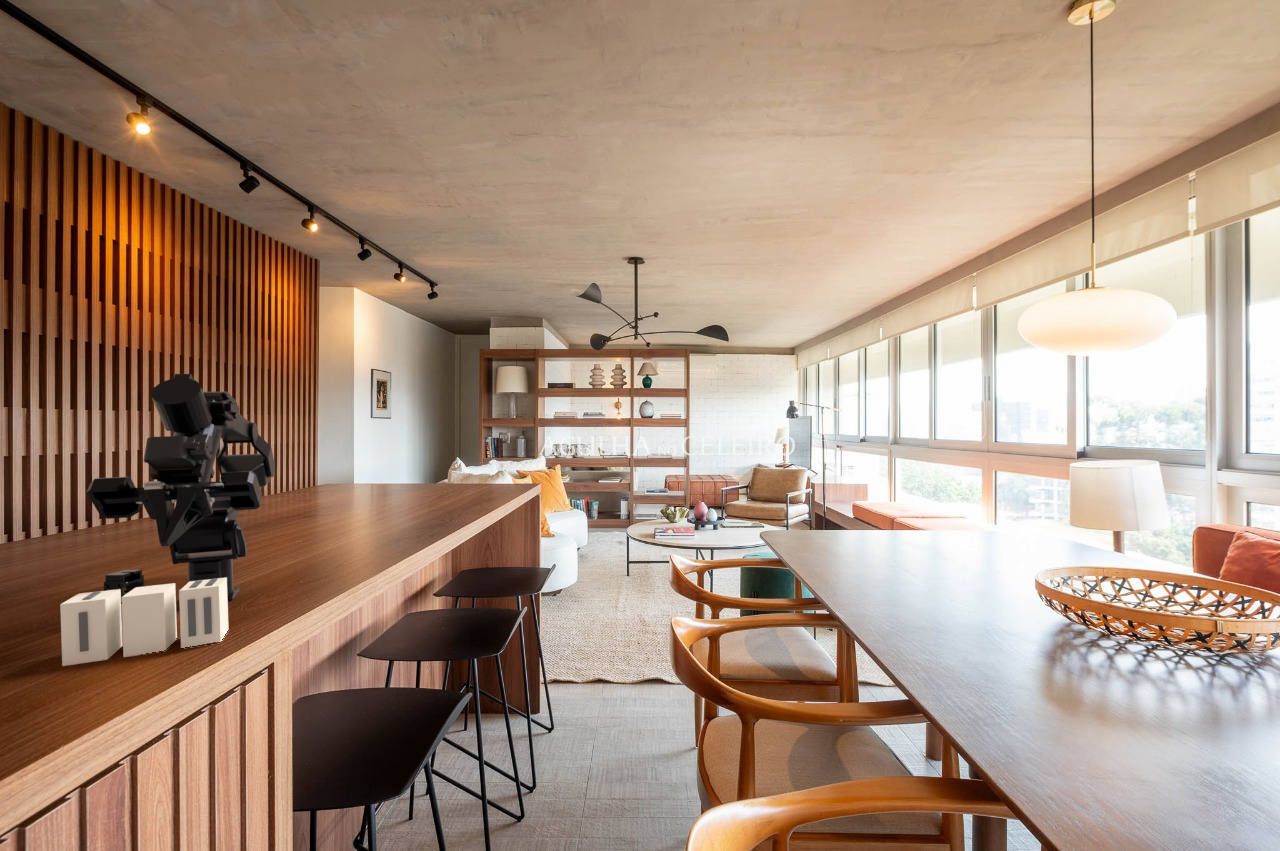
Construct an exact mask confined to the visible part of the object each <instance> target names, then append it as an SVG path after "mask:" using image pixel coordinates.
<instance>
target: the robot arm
mask: <svg viewBox="0 0 1280 851" xmlns="http://www.w3.org/2000/svg"><path fill="white" fill-rule="evenodd" d="M150 397H151V399H152V401H153V403H154V406H155V408H156V410H157V413H158V415H159V417H160V420H161V422H162V424H163V426H164V429H165V431H167V432H172V433H173V436H172V435H171V436H169V435H167V436H165V435H163V436H150V437H147V438H146V443H145V448H144V449H145V450H144V456H143V462H144V463H145V464H147V465H149V466H150V467H151V469H150V471H149V475H150V478H151V479H152V481H144V482H143V486H144V487H136V485H135V483H134V482H133V479H132V478H131V476H116V477H99V478H98V477H97V478H94V479H93V480H92V481H91V482H90V484H89V486H88V489H87V490H86V492H85V493H86V494H87V496H88V498H89V499H90V501H91V502H92V504H93V505H94V507H95V509H96V511H97V513H98V515H100V517H101V518H104V519H107V520H108V519H125V518H132V517H133V516H135V515H136V514H138V513H140V510H141V508H142V505H143V507H144V509H145V511H146V513H147V514H148V517H149V518H150V519H151V520H155V522H156V529H157V533H158V534H157V536H158V541H159V544H160V546H161V547H162V548H163V547H169V550H170V555H171V559H172V560H171V562H172V565H179V564H187V578H188V580H187V581H188V582H190V581H199V580H208V579H217V578H226V577H227V598H228V601H232V600H234V598H236V596H237V594H238V593H239V592H240V587H234V571H233V570H234V569H233V568H234V567H233V564H234V563H233V560H238V559H239V558H244V557H247V555H248V554H247V553H248V552H247V542H246V539H245V534H244V531H243V528H242V527H241V525H240V522H239V520H238V519H237V516H238V514H239V513H240V511H251V510H257V509H259V508H260V507H261V503H262V490H261V488H265V487H266V486H267V485H268V484H269V483H270V482H271V480H272V478H274V477H275V474H276V473H275V472H276V465H275V460H274V453H273V449H272V446H271V445H270V444H269V443H268V442H267V441H266V440H265V439H264V438H263V437H262V436H261V435H260V434H259V430H258V426H257V423H256V422H252V421H250V420H248V419H247V418H245V417H244V416H242V415H241V414H240V405H238V402H237V401H236V399H235V398H234V397H233V396H232V395H231V394H230V393H229V391H204V390H203V388H202V386H201V384H200V382H198V381H197V380H195V379H194V377H193V375H192V374H191V373H175V374H174V377H173V378H170V379H167V380H164V381H162V382H160V383H158V384H157V385H156V386H153V387H151V390H150ZM221 439H222V443H223V444H222V446H221V445H220V442H221ZM249 443H250V445H251V446H252V447H253V449H255V450H256V451H257V452H258V453H248V454H247V453H246V454H226V450H227V448H228V446H229V444H249ZM216 456H217V458H216ZM215 460H216V463H217V467H218V471H219V475H220V477H219V478H220V481H219V480H218V481H210V479H214V476H215V469H214V463H215ZM174 503H175V507H174V506H173V504H174ZM188 582H187V583H188Z"/></svg>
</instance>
